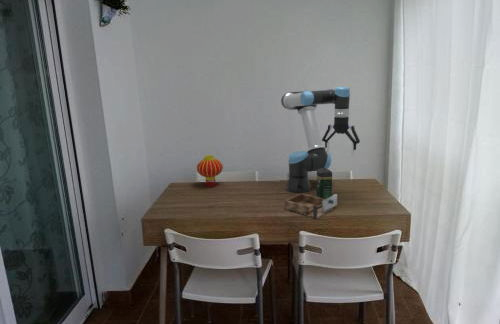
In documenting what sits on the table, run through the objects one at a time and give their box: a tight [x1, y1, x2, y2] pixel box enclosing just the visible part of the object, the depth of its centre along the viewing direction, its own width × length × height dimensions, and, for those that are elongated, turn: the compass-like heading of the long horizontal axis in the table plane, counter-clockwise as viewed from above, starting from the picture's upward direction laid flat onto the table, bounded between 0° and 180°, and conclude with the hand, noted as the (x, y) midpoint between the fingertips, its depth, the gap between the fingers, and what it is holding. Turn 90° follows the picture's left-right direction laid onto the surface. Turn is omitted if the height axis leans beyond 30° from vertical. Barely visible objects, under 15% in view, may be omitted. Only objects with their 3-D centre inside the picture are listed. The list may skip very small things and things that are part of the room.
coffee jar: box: [315, 168, 333, 199], centre depth 204 cm, size 10×8×19 cm
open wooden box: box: [284, 192, 334, 220], centre depth 193 cm, size 20×15×6 cm
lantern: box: [196, 146, 224, 187], centre depth 239 cm, size 17×17×30 cm
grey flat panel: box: [322, 193, 338, 212], centre depth 190 cm, size 2×13×6 cm, turn 136°
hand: (340, 154), depth 200 cm, fingers open, 13 cm apart
